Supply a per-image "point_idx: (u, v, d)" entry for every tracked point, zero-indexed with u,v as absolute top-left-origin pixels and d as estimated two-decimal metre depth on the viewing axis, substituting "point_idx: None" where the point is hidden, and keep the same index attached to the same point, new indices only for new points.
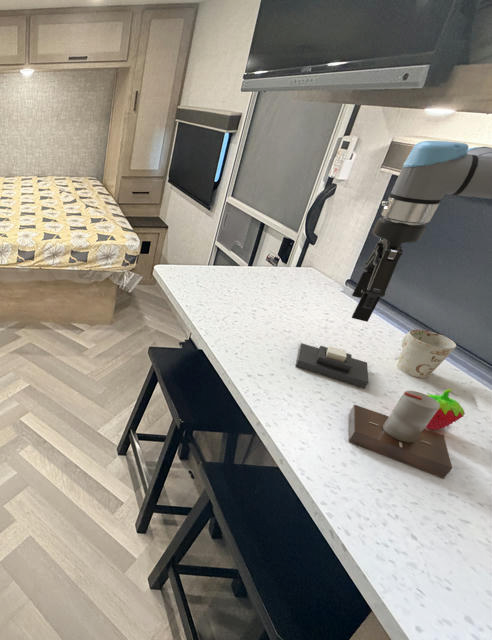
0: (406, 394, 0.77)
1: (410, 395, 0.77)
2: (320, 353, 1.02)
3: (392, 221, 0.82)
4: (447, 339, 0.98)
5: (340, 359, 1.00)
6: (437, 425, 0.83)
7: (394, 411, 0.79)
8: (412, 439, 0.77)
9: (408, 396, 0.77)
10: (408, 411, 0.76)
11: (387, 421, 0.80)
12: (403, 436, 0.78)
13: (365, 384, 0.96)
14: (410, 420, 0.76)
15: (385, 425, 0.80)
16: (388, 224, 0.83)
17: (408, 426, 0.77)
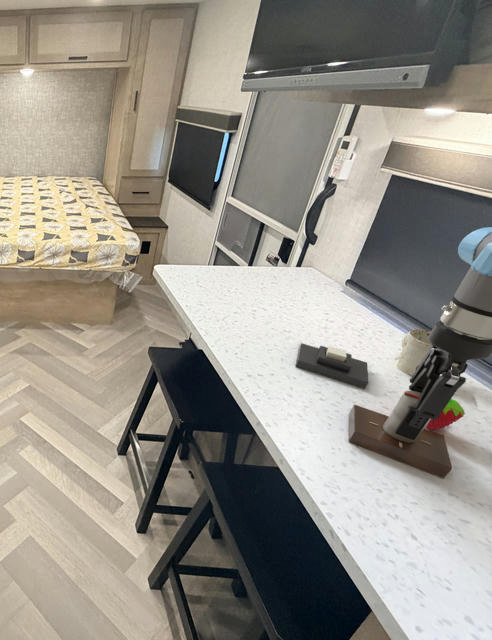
0: (406, 394, 0.77)
1: (410, 395, 0.77)
2: (320, 353, 1.02)
3: (456, 332, 0.68)
4: None
5: (340, 359, 1.00)
6: (437, 425, 0.83)
7: (394, 411, 0.79)
8: None
9: (408, 396, 0.77)
10: None
11: (387, 421, 0.80)
12: None
13: (365, 384, 0.96)
14: None
15: (385, 425, 0.80)
16: (451, 335, 0.68)
17: None
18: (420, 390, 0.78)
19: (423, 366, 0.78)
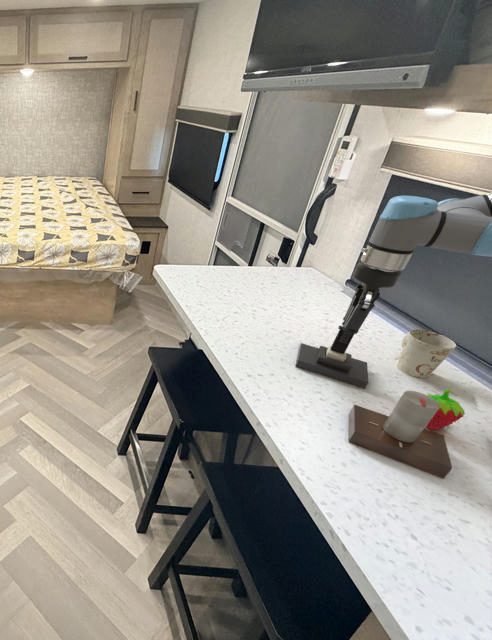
0: (425, 405, 0.74)
1: (424, 403, 0.75)
2: (320, 353, 1.02)
3: (370, 267, 0.89)
4: (447, 339, 0.98)
5: (340, 359, 1.00)
6: (437, 425, 0.83)
7: (416, 424, 0.76)
8: None
9: (427, 406, 0.74)
10: (432, 416, 0.75)
11: (407, 434, 0.77)
12: None
13: (365, 384, 0.96)
14: (429, 421, 0.76)
15: (407, 438, 0.78)
16: (367, 269, 0.89)
17: None
18: None
19: None
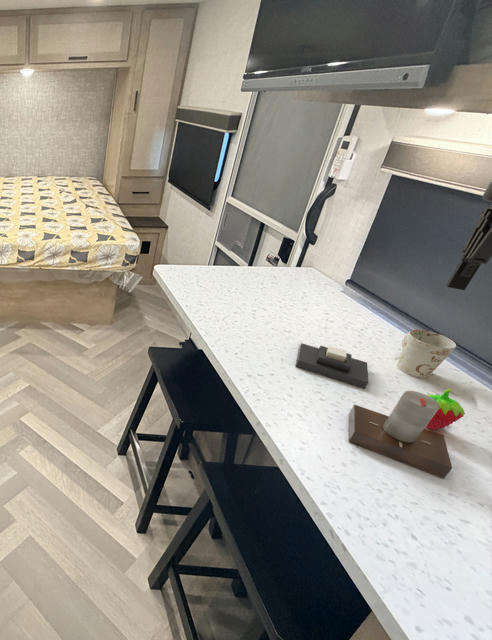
0: (425, 405, 0.74)
1: (424, 403, 0.75)
2: (320, 353, 1.02)
3: None
4: (447, 339, 0.98)
5: (340, 359, 1.00)
6: (437, 425, 0.83)
7: (416, 424, 0.76)
8: None
9: (427, 406, 0.74)
10: (432, 416, 0.75)
11: (407, 434, 0.77)
12: None
13: (365, 384, 0.96)
14: (429, 421, 0.76)
15: (407, 438, 0.78)
16: None
17: None
18: None
19: (475, 233, 0.88)
